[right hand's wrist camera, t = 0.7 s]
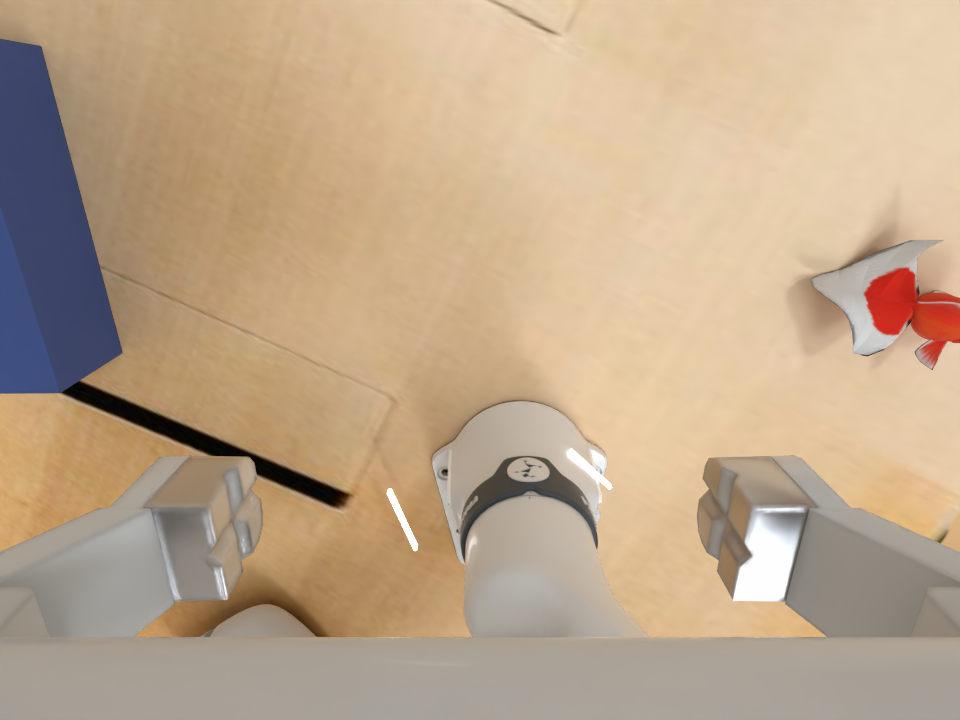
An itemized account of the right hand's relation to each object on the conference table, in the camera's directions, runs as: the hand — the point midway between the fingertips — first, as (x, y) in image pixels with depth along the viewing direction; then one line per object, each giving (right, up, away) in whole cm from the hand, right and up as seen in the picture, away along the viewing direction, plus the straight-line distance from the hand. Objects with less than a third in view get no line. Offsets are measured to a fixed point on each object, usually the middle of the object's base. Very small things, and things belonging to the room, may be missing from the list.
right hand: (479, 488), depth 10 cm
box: (-39, +16, +42) cm, 59 cm away
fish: (+38, +8, +45) cm, 59 cm away
